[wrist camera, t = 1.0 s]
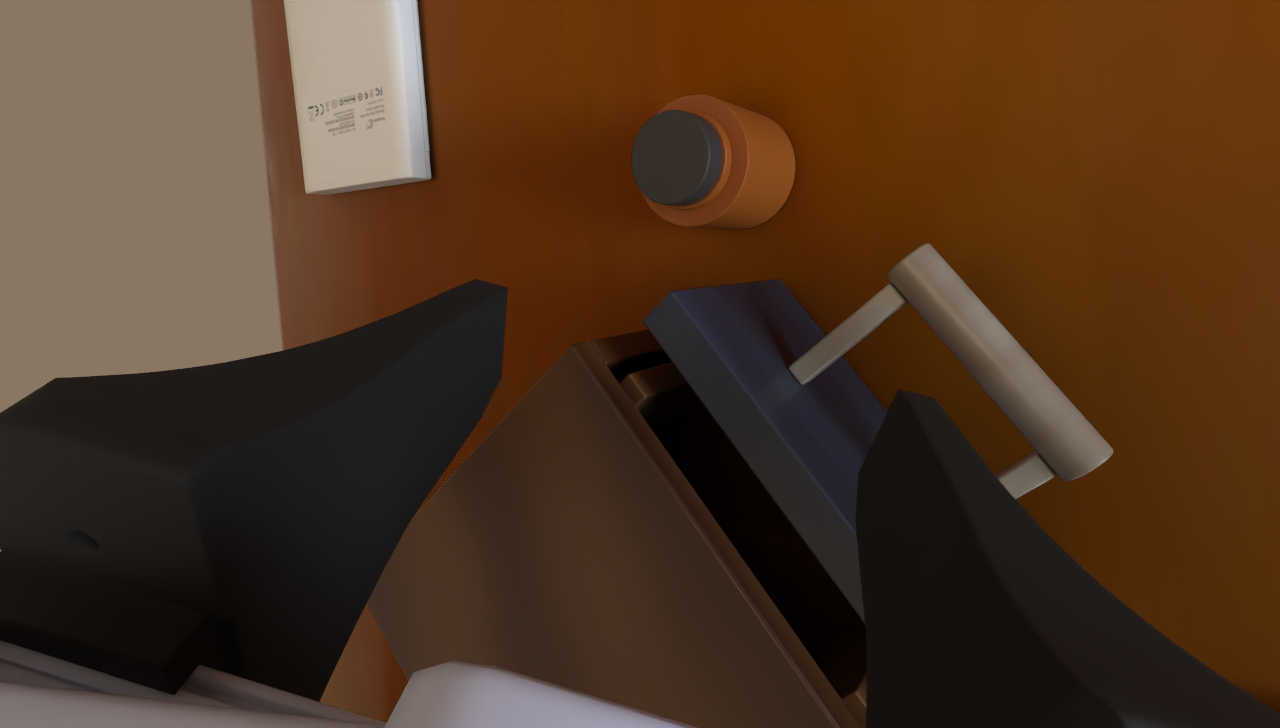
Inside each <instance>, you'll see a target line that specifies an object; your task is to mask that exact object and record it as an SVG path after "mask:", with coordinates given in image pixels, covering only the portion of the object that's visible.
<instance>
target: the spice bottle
mask: <svg viewBox="0 0 1280 728" xmlns="http://www.w3.org/2000/svg"><path fill="white" fill-rule="evenodd" d="M631 164H632V172H633V176H634V179H635V181H636V183H637V185H638V187H639V189H640V190H641V191H642V194H643V196H644V198H645V200H646V202H647V203H648V205H649V206H650V208H651V209H652V210H653V211H654V212H655V213H656V214H657V215H658V216H659V217H660V218H662V219H663V220H665V221H667V222H669V223H671V224H673V225H677V226H680V227H693V228H721V229H747V228H752V227H755V226H758V225H760V224H762V223H764V222H766V221H767V220H769V219H770V218H771V217H773V216H774V215H775V214H776V213H777V212H778V211H779V210H780V208H781V207H782V206H783V204H784V203H785V201H786V200H787V198H788V196H789V194H790V191H791V189H792V186H793V182H794V177H795V155H794V151H793V147H792V144H791V142H790V140H789V138H788V136H787V134H786V133H785V131H784V130H783V129H782V128H781V127H780V126H779V125H778V124H777V123H776V122H775V121H773V120H772V119H770V118H768V117H766V116H764V115H761V114H759V113H756V112H753V111H750V110H748V109H745V108H742V107H739V106H737V105H734V104H731V103H728V102H726V101H723V100H720V99H717V98H714V97H711V96H708V95H702V94H693V95H686V96H683V97H680V98H678V99H676V100H673V101H671V102H670V103H668V104H667V105H665V106H664V107H663V108H662V109H661V110H660V111H659V112H658V113H657V114H656V115H655V116H653V117H652V118H651V119H649V120H648V121H647V122H646V123H645V124H644V126H643V127H642V128H641V130H640V131H639V133H638V135H637V137H636V139H635V142H634V145H633V150H632V158H631Z"/></svg>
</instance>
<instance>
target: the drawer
mask: <svg viewBox="0 0 1280 728" xmlns="http://www.w3.org/2000/svg"><path fill="white" fill-rule="evenodd" d="M887 276H888V278H889V280H890V281H891V282H892V283H893V284H889V285H887V286H886V287H884V288H883V289H882V290H881V291H880V292H878V293H877V294H876V295H875V296H874V297H872V298H871V299H870V300H869V301H868V302H866V303H865V304H864V305H863V306H862V307H860V308H859V309H858V310H857V311H855V312H854V313H853V314H852V315H851V316H849V317H848V318H847V319H846V320H845V321H843V322H842V323H841V324H840V325H839V326H837V327H836V328H835V329H834V330H833V331H831V332H830V333H829V334H828V335H827V336H825V334H824V333H823V332H822V331H821V329H820V328H819V327H818V326H817V325H816V323H815V322H814V321H813V320H812V318H811V317H810V316H809V315H808V313H807V312H806V311H805V310H804V308H803V307H802V306H801V305H800V304H799V302H798V301H797V300H796V299H795V297H794V296H793V295H792V294H791V292H790V291H789V290H788V289H787V287H786V286H785V285H784V284H783V283H782V281H781V280H780V279H776V280H766V281H757V282H748V283H739V284H730V285H721V286H711V287H702V288H693V289H684V290H675V291H671V292H670V293H669V294H668V295H667V296H666V297H665V298H664V299H663V300H662V301H661V302H660V303H659V304H658V305H657V306H656V307H655V308H654V309H653V310H652V311H651V312H650V313H649V314H648V315H647V316H646V317H645V318H644V319H643V323H644V324H645V326H646V327H647V328H648V330H649V331H650V332H651V334H652V335H653V337H654V338H655V339H656V341H657V342H658V343H659V345H660V346H661V347H662V349H663V350H664V352H665V353H666V354H667V356H668V357H669V358H670V360H671V361H672V362H671V363H667V364H663V365H660V366H656V367H652V368H649V369H645V370H641V371H637V372H634V373H630V374H628V375H627V376H626V377H625V378H624V379H623V380H622V381H621V382H620V383H619V384H620V385H621V387H622V388H623V389H624V391H625V392H626V394H627V395H628V397H629V398H630V399H631V401H632V402H633V404H634V405H635V406H636V408H637V409H638V411H639V412H640V414H641V415H642V416H643V418H644V419H645V421H646V422H647V424H648V425H649V426H650V428H651V429H652V431H653V432H654V433H655V435H656V436H657V438H658V439H659V441H660V442H661V443H662V445H663V446H664V448H665V449H666V451H667V452H668V453H669V455H670V456H671V458H672V459H673V460H674V462H675V463H676V465H677V466H678V468H679V469H680V470H681V472H682V473H683V475H684V476H685V478H686V479H687V480H688V482H689V483H690V485H691V486H692V487H693V489H694V490H695V492H696V493H697V495H698V496H699V497H700V499H701V500H702V502H703V503H704V505H705V506H706V507H707V509H708V510H709V512H710V513H711V514H712V516H713V517H714V519H715V520H716V522H717V523H718V524H719V526H720V527H721V529H722V530H723V532H724V533H725V534H726V536H727V537H728V539H729V540H730V541H731V543H732V544H733V546H734V547H735V549H736V550H737V551H738V553H739V554H740V556H741V557H742V559H743V560H744V561H745V563H746V564H747V566H748V567H749V568H750V570H751V571H752V573H753V574H754V576H755V577H756V578H757V580H758V581H759V583H760V584H761V586H762V587H763V588H764V590H765V591H766V593H767V594H768V595H769V597H770V598H771V600H772V601H773V603H774V604H775V605H776V607H777V608H778V610H779V611H780V613H781V614H782V615H783V617H784V618H785V620H786V621H787V622H788V624H789V625H790V627H791V628H792V630H793V631H794V632H795V634H796V635H797V637H798V638H799V640H800V641H801V642H802V644H803V645H804V647H805V648H806V649H807V651H808V652H809V654H810V655H811V657H812V658H813V659H814V661H815V662H816V664H817V665H818V667H819V668H820V669H821V671H822V672H823V674H824V675H825V676H826V678H827V679H828V681H829V682H830V684H831V685H832V686H833V688H834V689H835V691H836V692H837V694H838V695H839V696H840V698H841V699H842V701H843V702H844V703H845V705H846V706H847V708H848V709H849V711H850V712H851V713H852V715H853V716H854V718H855V719H856V721H857V722H858V723H859V725H860V726H861V728H865V727H866V691H867V645H866V629H865V618H864V608H863V598H862V588H861V577H860V567H859V557H858V545H857V534H856V499H857V484H858V473H859V471H860V469H861V466H862V464H863V462H864V460H865V458H866V456H867V454H868V452H869V450H870V448H871V446H872V443H873V441H874V439H875V437H876V435H877V433H878V431H879V429H880V427H881V425H882V423H883V420H884V418H885V416H886V414H887V411H886V410H885V409H884V407H883V406H882V405H881V404H880V402H879V401H878V400H877V399H876V397H875V396H874V395H873V394H872V392H871V391H870V390H869V389H868V388H867V386H866V385H865V384H864V383H863V381H862V380H861V379H860V378H859V376H858V375H857V374H856V373H855V371H854V370H853V369H852V368H851V367H850V365H849V364H848V363H847V362H846V360H845V359H844V358H843V357H842V355H844V354H845V353H846V352H847V351H849V350H850V349H851V348H852V347H854V346H855V345H856V344H857V343H859V342H860V341H861V340H862V339H864V338H865V337H866V336H867V335H869V334H870V333H871V332H872V331H874V330H875V329H876V328H877V327H879V326H880V325H881V324H883V323H884V322H885V321H886V320H888V319H889V318H890V317H891V316H893V315H894V314H895V313H896V312H898V311H899V310H900V309H901V308H903V307H904V306H905V305H906V304H908V303H910V304H911V305H912V306H913V308H914V309H915V310H916V311H917V312H918V313H919V315H920V316H921V317H922V318H923V319H924V320H925V322H926V323H927V324H928V325H929V326H930V327H931V329H932V330H933V331H934V332H935V333H936V334H937V336H938V337H939V338H940V339H941V340H942V341H943V343H944V344H945V345H946V346H947V347H948V348H949V349H950V351H951V352H952V353H953V354H954V355H955V356H956V358H957V359H958V360H959V361H960V362H961V363H962V365H963V366H964V367H965V368H966V369H967V370H968V372H969V373H970V374H971V375H972V376H973V377H974V379H975V380H976V381H977V382H978V383H979V384H980V386H981V387H982V388H983V389H984V390H985V391H986V393H987V394H988V395H989V396H990V397H991V398H992V400H993V401H994V402H995V403H996V404H997V405H998V407H999V408H1000V409H1001V410H1002V411H1003V412H1004V414H1005V415H1006V416H1007V417H1008V418H1009V419H1010V421H1011V422H1012V423H1013V424H1014V425H1015V426H1016V427H1017V429H1018V430H1019V431H1020V432H1021V433H1022V434H1023V436H1024V437H1025V438H1026V439H1027V440H1028V441H1029V443H1030V444H1031V445H1032V446H1033V447H1034V448H1035V450H1036V451H1034V452H1033V453H1031V454H1029V455H1028V456H1026V457H1024V458H1023V459H1021V460H1019V461H1018V462H1016V463H1014V464H1013V465H1011V466H1009V467H1007V468H1006V469H1004V470H1002V471H1001V472H999V473H997V474H996V475H995V476H996V477H997V478H998V479H999V481H1000V482H1001V483H1002V484H1003V485H1004V487H1005V488H1006V489H1007V490H1008V491H1009V493H1010V494H1011V495H1012V496H1013V497H1014V498H1015V499H1017V498H1018V497H1020V496H1022V495H1024V494H1025V493H1027V492H1029V491H1031V490H1032V489H1034V488H1036V487H1038V486H1040V485H1041V484H1043V483H1045V482H1047V481H1048V480H1050V479H1052V478H1053V477H1054V476H1055V473H1056V474H1057V475H1058V476H1059V478H1060V479H1061V480H1063V481H1071V480H1074V479H1077V478H1079V477H1081V476H1083V475H1085V474H1087V473H1089V472H1091V471H1092V470H1094V469H1095V468H1097V467H1098V466H1100V465H1101V464H1103V463H1104V462H1105V461H1106V460H1107V459H1109V457H1110V456H1111V455H1112V454H1113V449H1112V448H1111V446H1110V445H1109V444H1108V443H1107V442H1106V441H1105V440H1104V439H1103V437H1102V436H1101V435H1100V434H1099V433H1098V432H1097V431H1096V430H1095V428H1094V427H1093V426H1092V425H1091V424H1090V423H1089V422H1088V421H1087V419H1086V418H1085V417H1084V416H1083V415H1082V414H1081V413H1080V412H1079V411H1078V409H1077V408H1076V407H1075V406H1074V405H1073V404H1072V403H1071V402H1070V400H1069V399H1068V398H1067V397H1066V396H1065V395H1064V394H1063V393H1062V391H1061V390H1060V389H1059V388H1058V387H1057V386H1056V385H1055V384H1054V382H1053V381H1052V380H1051V379H1050V378H1049V377H1048V376H1047V375H1046V374H1045V372H1044V371H1043V370H1042V369H1041V368H1040V367H1039V366H1038V365H1037V363H1036V362H1035V361H1034V360H1033V359H1032V358H1031V357H1030V356H1029V354H1028V353H1027V352H1026V351H1025V350H1024V349H1023V348H1022V347H1021V345H1020V344H1019V343H1018V342H1017V341H1016V340H1015V339H1014V338H1013V336H1012V335H1011V334H1010V333H1009V332H1008V331H1007V330H1006V329H1005V328H1004V326H1003V325H1002V324H1001V323H1000V322H999V321H998V320H997V319H996V317H995V316H994V315H993V314H992V313H991V312H990V311H989V310H988V308H987V307H986V306H985V305H984V304H983V303H982V302H981V301H980V299H979V298H978V297H977V296H976V295H975V294H974V293H973V292H972V291H971V289H970V288H969V287H968V286H967V285H966V284H965V283H964V282H963V280H962V279H961V278H960V277H959V276H958V275H957V274H956V273H955V271H954V270H953V269H952V268H951V267H950V266H949V265H948V264H947V262H946V261H945V260H944V259H943V258H942V257H941V256H940V255H939V254H938V252H937V251H936V250H935V249H934V248H933V247H932V246H931V245H930V244H929V243H926V244H924V245H922V246H920V247H918V248H917V249H915V250H914V251H912V252H911V253H910V254H908V255H907V256H906V257H904V258H903V259H902V260H901V261H900V262H898V263H897V264H896V265H895V266H894V267H893V268H892V269H891V270H890V272H889V273H888V275H887Z"/></svg>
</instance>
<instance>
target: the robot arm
mask: <svg viewBox="0 0 1280 728" xmlns="http://www.w3.org/2000/svg"><path fill="white" fill-rule="evenodd" d="M507 292H508V287H504V286H500V285H496V284H492V283H489V282H485V281H481V280H477V279H476V280H473V281H470V282H468V283H465V284H463V285H460V286H458V287H455V288H453V289H451V290H449V291H446V292H444V293H442V294H440V295H437V296H435V297H433V298H431V299H428V300H426V301H424V302H421V303H419V304H417V305H414V306H412V307H410V308H407V309H405V310H403V311H401V312H398V313H396V314H393V315H391V316H388V317H386V318H383V319H380V320H378V321H375V322H372V323H370V324H367V325H364V326H362V327H359V328H356V329H354V330H351V331H348V332H346V333H343V334H340V335H337V336H334V337H330V338H327V339H324V340H321V341H317V342H314V343H310V344H306V345H303V346H299V347H295V348H292V349H288V350H284V351H280V352H275V353H270V354H266V355H260V356H255V357H250V358H245V359H240V360H236V361H230V362H226V363H219V364H213V365H206V366H200V367H192V368H185V369H176V370H168V371H159V372H150V373H138V374H123V375H107V376H90V377H73V378H55V379H54V380H52V381H50V382H49V383H47V384H46V385H44V386H43V387H41V388H39V389H38V390H36V391H35V392H33V393H32V394H30V395H28V396H27V397H25V398H23V399H22V400H20V401H19V402H17V403H15V404H14V405H13V406H11V407H9V408H8V409H6V410H4V411H3V412H1V413H0V549H1V550H2V551H1V552H0V728H698V727H695V726H691V725H688V724H685V723H681V722H678V721H675V720H672V719H668V718H665V717H662V716H658V715H655V714H652V713H648V712H645V711H642V710H639V709H635V708H632V707H629V706H625V705H622V704H619V703H615V702H612V701H609V700H605V699H602V698H599V697H596V696H592V695H589V694H586V693H582V692H579V691H576V690H572V689H569V688H566V687H562V686H559V685H556V684H553V683H549V682H546V681H543V680H539V679H536V678H533V677H529V676H526V675H523V674H520V673H516V672H513V671H510V670H506V669H503V668H500V667H496V666H491V665H484V664H476V663H469V662H462V661H455V660H454V661H450V662H447V663H443V664H440V665H437V666H433V667H430V668H426V669H423V670H419V671H416V672H413V674H412V676H411V678H410V680H409V682H408V684H407V686H406V688H405V689H404V691H403V693H402V695H401V697H400V699H399V701H398V703H397V705H396V707H395V709H394V710H393V712H392V714H391V716H390V718H389V720H388V722H387V723H385V722H382V721H378V720H375V719H372V718H369V717H366V716H362V715H359V714H356V713H353V712H350V711H346V710H343V709H340V708H337V707H334V706H330V705H327V704H324V703H321V702H319V701H320V699H321V697H322V695H323V693H324V690H325V688H326V686H327V684H328V682H329V679H330V677H331V675H332V673H333V671H334V669H335V667H336V664H337V662H338V660H339V658H340V656H341V654H342V652H343V650H344V648H345V646H346V644H347V642H348V640H349V638H350V636H351V634H352V632H353V629H354V627H355V625H356V623H357V621H358V619H359V617H360V615H361V613H362V611H363V609H364V607H365V605H366V603H367V601H368V600H369V598H370V596H371V594H372V592H373V590H374V588H375V586H376V584H377V582H378V580H379V578H380V576H381V574H382V572H383V570H384V568H385V567H386V565H387V563H388V561H389V559H390V557H391V556H392V554H393V552H394V550H395V548H396V546H397V544H398V543H399V541H400V539H401V537H402V535H403V533H404V532H405V530H406V528H407V526H408V524H409V523H410V521H411V520H412V518H413V516H414V515H415V513H416V512H417V510H418V508H419V507H420V505H421V504H422V502H423V501H424V500H425V498H426V497H427V495H428V494H429V492H430V491H431V490H432V488H433V487H434V485H435V484H436V482H437V481H438V480H439V478H440V477H441V475H442V474H443V472H444V471H445V470H446V468H447V467H448V465H449V464H450V462H451V461H452V460H453V458H454V457H455V455H456V454H457V452H458V451H459V450H460V448H461V447H462V445H463V444H464V442H465V441H466V439H467V438H468V437H469V435H470V434H471V432H472V431H473V429H474V428H475V426H476V425H477V423H478V422H479V420H480V419H481V417H482V415H483V413H484V411H485V409H486V407H487V405H488V403H489V401H490V399H491V397H492V395H493V393H494V391H495V389H496V387H497V385H498V383H499V381H500V379H501V375H502V361H503V347H504V334H505V320H506V306H507ZM856 534H857V545H858V557H859V567H860V577H861V588H862V598H863V608H864V618H865V629H866V645H867V691H866V727H865V728H1280V714H1279V713H1277V712H1276V711H1274V710H1273V709H1271V708H1269V707H1268V706H1266V705H1265V704H1263V703H1262V702H1260V701H1258V700H1257V699H1255V698H1254V697H1252V696H1251V695H1249V694H1247V693H1246V692H1244V691H1243V690H1241V689H1240V688H1238V687H1237V686H1235V685H1233V684H1232V683H1230V682H1229V681H1227V680H1226V679H1224V678H1223V677H1221V676H1220V675H1218V674H1217V673H1215V672H1214V671H1213V670H1211V669H1210V668H1208V667H1207V666H1206V665H1204V664H1203V663H1201V662H1200V661H1199V660H1197V659H1196V658H1194V657H1193V656H1192V655H1190V654H1189V653H1187V652H1186V651H1185V650H1183V649H1182V648H1180V647H1179V646H1178V645H1176V644H1175V643H1173V642H1172V641H1171V640H1170V639H1168V638H1167V637H1166V636H1164V635H1163V634H1162V633H1160V632H1159V631H1158V630H1156V629H1155V628H1154V627H1152V626H1151V625H1150V624H1149V623H1147V622H1146V621H1145V620H1143V619H1142V618H1141V617H1140V616H1138V615H1137V614H1136V613H1135V612H1134V611H1132V610H1131V609H1130V608H1129V607H1128V606H1126V605H1125V604H1124V603H1123V602H1121V601H1120V600H1119V599H1118V598H1117V597H1115V596H1114V595H1113V594H1112V593H1111V592H1109V591H1108V590H1107V589H1106V588H1105V587H1103V586H1102V585H1101V584H1100V583H1099V582H1098V581H1097V580H1095V579H1094V578H1093V577H1092V576H1091V575H1090V574H1089V573H1087V572H1086V571H1085V570H1084V569H1083V568H1082V567H1081V566H1080V565H1079V564H1078V563H1077V562H1076V561H1075V560H1074V559H1073V558H1072V557H1071V556H1069V555H1068V554H1067V553H1066V552H1065V551H1064V550H1063V549H1062V548H1061V547H1060V546H1059V545H1058V544H1057V543H1056V542H1055V541H1054V540H1053V539H1052V538H1051V537H1050V536H1049V535H1048V534H1047V533H1046V532H1045V531H1044V530H1043V529H1042V528H1041V527H1040V526H1039V525H1038V524H1037V523H1036V522H1035V520H1034V519H1033V518H1032V517H1031V516H1030V515H1029V514H1028V513H1027V512H1026V510H1025V509H1024V508H1023V507H1022V506H1021V505H1020V504H1019V503H1018V502H1017V501H1016V499H1015V498H1014V497H1013V496H1012V495H1011V494H1010V493H1009V491H1008V490H1007V489H1006V488H1005V487H1004V485H1003V484H1002V483H1001V482H1000V481H999V479H998V478H997V477H996V476H995V475H994V473H993V472H992V471H991V470H990V468H989V467H988V466H987V465H986V463H985V462H984V461H983V460H982V458H981V457H980V456H979V455H978V453H977V452H976V451H975V450H974V448H973V447H972V446H971V444H970V443H969V442H968V441H967V439H966V438H965V437H964V435H963V434H962V433H961V431H960V430H959V429H958V428H957V426H956V425H955V424H954V422H953V421H952V420H951V419H950V417H949V416H948V415H947V413H946V412H945V411H944V410H943V409H942V407H941V406H940V405H939V404H938V403H937V402H936V400H935V399H934V398H931V397H927V396H924V395H920V394H916V393H912V392H908V391H904V390H900V389H898V391H897V393H896V395H895V397H894V400H893V402H892V404H891V406H890V408H889V410H888V412H887V414H886V416H885V418H884V420H883V423H882V425H881V427H880V429H879V431H878V433H877V435H876V437H875V439H874V441H873V443H872V446H871V448H870V450H869V452H868V454H867V456H866V458H865V460H864V462H863V464H862V466H861V469H860V471H859V473H858V484H857V499H856Z"/></svg>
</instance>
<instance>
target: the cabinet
mask: <svg viewBox="0 0 1280 728" xmlns="http://www.w3.org/2000/svg"><path fill="white" fill-rule="evenodd" d="M671 362H672V361H671V360H670V358H669V357H668V356H667V354H666V353H665V352H664V350H663V349H662V347H661V346H660V345H659V343H658V342H657V341H656V339H655V338H654V337H653V335H652V334H651V332H650V331H649V330H645V331H639V332H634V333H629V334H623V335H618V336H613V337H607V338H602V339H596V340H591V341H590V342H583V343H577V344H573V345H571V346H570V347H569V348H568V349H567V350H566V351H565V352H564V354H563V355H562V356H561V357H560V358H559V359H558V360H557V361H556V362H555V363H554V364H553V366H552V367H551V368H550V369H549V370H548V371H547V372H546V373H545V374H544V375H543V376H542V377H541V379H540V380H539V381H538V382H537V383H536V384H535V385H534V386H533V387H532V388H531V389H530V391H529V392H528V393H527V394H526V395H525V396H524V397H523V398H522V399H521V400H520V401H519V402H518V404H517V405H516V406H515V407H514V408H513V409H512V410H511V411H510V412H509V413H508V414H507V416H506V417H505V418H504V419H503V420H502V421H501V422H500V423H499V424H498V425H497V426H496V427H495V429H494V430H493V431H492V432H491V433H490V434H489V435H488V436H487V437H486V438H485V439H484V441H483V442H482V443H481V444H480V445H479V446H478V447H477V448H476V449H475V450H474V451H473V453H472V454H471V455H470V456H469V457H468V458H467V459H466V460H465V461H464V462H463V463H462V464H461V466H460V467H459V468H458V469H457V470H456V471H455V472H454V473H453V474H452V475H451V476H450V478H449V479H448V480H447V481H446V482H445V483H444V484H443V485H442V486H441V487H440V488H439V489H438V491H437V492H436V493H435V494H434V495H433V496H432V497H431V498H430V499H429V500H428V501H427V503H426V504H425V505H424V506H423V507H422V508H421V509H420V510H419V511H418V512H417V513H416V514H415V516H414V517H413V518H412V520H411V521H410V523H409V524H408V526H407V528H406V530H405V532H404V533H403V535H402V537H401V539H400V541H399V543H398V544H397V546H396V548H395V550H394V552H393V554H392V556H391V557H390V559H389V561H388V563H387V565H386V567H385V568H384V570H383V572H382V574H381V576H380V578H379V580H378V582H377V584H376V586H375V588H374V590H373V592H372V594H371V596H370V598H369V600H368V601H367V603H366V604H367V605H368V607H369V609H370V611H371V613H372V615H373V616H374V618H375V620H376V622H377V624H378V626H379V628H380V629H381V631H382V633H383V635H384V637H385V639H386V640H387V642H388V644H389V646H390V648H391V650H392V651H393V653H394V655H395V657H396V659H397V661H398V663H399V664H400V666H401V668H402V670H403V672H404V674H405V675H406V677H407V679H408V681H409V680H410V678H411V676H412V674H413V672H416V671H419V670H423V669H426V668H430V667H433V666H437V665H440V664H443V663H447V662H450V661H454V660H455V661H462V662H469V663H476V664H484V665H491V666H496V667H500V668H503V669H506V670H510V671H513V672H516V673H520V674H523V675H526V676H529V677H533V678H536V679H539V680H543V681H546V682H549V683H553V684H556V685H559V686H562V687H566V688H569V689H572V690H576V691H579V692H582V693H586V694H589V695H592V696H596V697H599V698H602V699H605V700H609V701H612V702H615V703H619V704H622V705H625V706H629V707H632V708H635V709H639V710H642V711H645V712H648V713H652V714H655V715H658V716H662V717H665V718H668V719H672V720H675V721H678V722H681V723H685V724H688V725H691V726H695V727H698V728H861V726H860V725H859V723H858V722H857V721H856V719H855V718H854V716H853V715H852V713H851V712H850V711H849V709H848V708H847V706H846V705H845V703H844V702H843V701H842V699H841V698H840V696H839V695H838V694H837V692H836V691H835V689H834V688H833V686H832V685H831V684H830V682H829V681H828V679H827V678H826V676H825V675H824V674H823V672H822V671H821V669H820V668H819V667H818V665H817V664H816V662H815V661H814V659H813V658H812V657H811V655H810V654H809V652H808V651H807V649H806V648H805V647H804V645H803V644H802V642H801V641H800V640H799V638H798V637H797V635H796V634H795V632H794V631H793V630H792V628H791V627H790V625H789V624H788V622H787V621H786V620H785V618H784V617H783V615H782V614H781V613H780V611H779V610H778V608H777V607H776V605H775V604H774V603H773V601H772V600H771V598H770V597H769V595H768V594H767V593H766V591H765V590H764V588H763V587H762V586H761V584H760V583H759V581H758V580H757V578H756V577H755V576H754V574H753V573H752V571H751V570H750V568H749V567H748V566H747V564H746V563H745V561H744V560H743V559H742V557H741V556H740V554H739V553H738V551H737V550H736V549H735V547H734V546H733V544H732V543H731V541H730V540H729V539H728V537H727V536H726V534H725V533H724V532H723V530H722V529H721V527H720V526H719V524H718V523H717V522H716V520H715V519H714V517H713V516H712V514H711V513H710V512H709V510H708V509H707V507H706V506H705V505H704V503H703V502H702V500H701V499H700V497H699V496H698V495H697V493H696V492H695V490H694V489H693V487H692V486H691V485H690V483H689V482H688V480H687V479H686V478H685V476H684V475H683V473H682V472H681V470H680V469H679V468H678V466H677V465H676V463H675V462H674V460H673V459H672V458H671V456H670V455H669V453H668V452H667V451H666V449H665V448H664V446H663V445H662V443H661V442H660V441H659V439H658V438H657V436H656V435H655V433H654V432H653V431H652V429H651V428H650V426H649V425H648V424H647V422H646V421H645V419H644V418H643V416H642V415H641V414H640V412H639V411H638V409H637V408H636V406H635V405H634V404H633V402H632V401H631V399H630V398H629V397H628V395H627V394H626V392H625V391H624V389H623V388H622V387H621V385H620V384H619V383H620V382H621V381H622V380H623V379H624V378H625V377H626V376H627V375H628V374H630V373H634V372H637V371H641V370H645V369H649V368H652V367H656V366H660V365H663V364H667V363H671Z"/></svg>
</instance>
